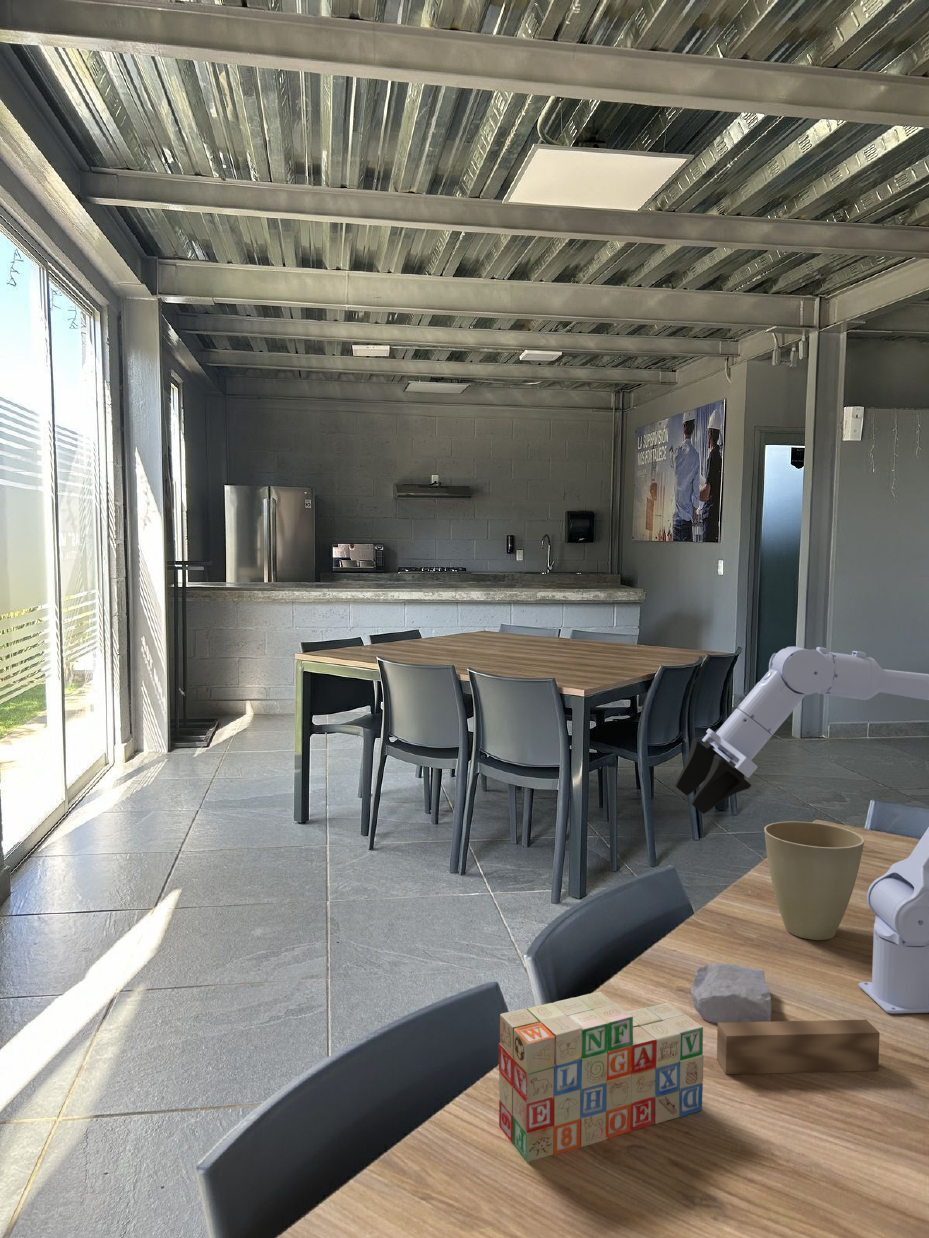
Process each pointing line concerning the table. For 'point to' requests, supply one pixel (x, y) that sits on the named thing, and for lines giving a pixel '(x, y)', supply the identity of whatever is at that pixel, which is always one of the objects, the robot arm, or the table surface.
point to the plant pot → (812, 874)
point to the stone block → (731, 994)
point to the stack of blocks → (594, 1072)
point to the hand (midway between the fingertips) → (688, 799)
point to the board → (797, 1046)
